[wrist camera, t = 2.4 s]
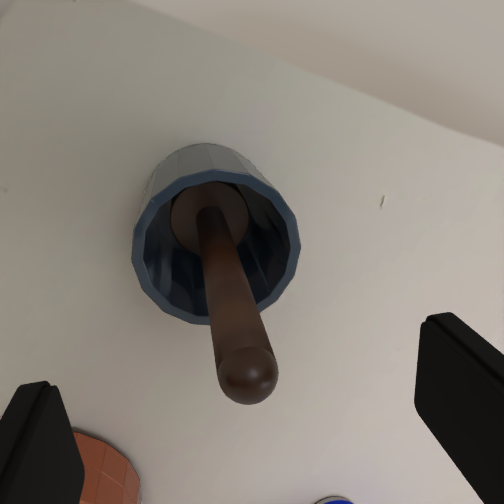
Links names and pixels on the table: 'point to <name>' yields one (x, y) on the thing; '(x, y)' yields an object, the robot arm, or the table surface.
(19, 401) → the robot arm
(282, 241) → the holder
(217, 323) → the brown plunger
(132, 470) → the bowl
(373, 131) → the table surface
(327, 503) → the beverage can
